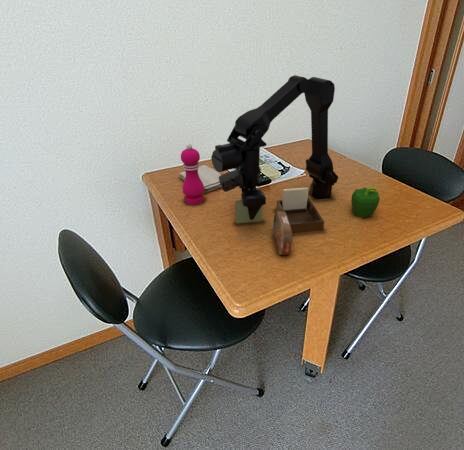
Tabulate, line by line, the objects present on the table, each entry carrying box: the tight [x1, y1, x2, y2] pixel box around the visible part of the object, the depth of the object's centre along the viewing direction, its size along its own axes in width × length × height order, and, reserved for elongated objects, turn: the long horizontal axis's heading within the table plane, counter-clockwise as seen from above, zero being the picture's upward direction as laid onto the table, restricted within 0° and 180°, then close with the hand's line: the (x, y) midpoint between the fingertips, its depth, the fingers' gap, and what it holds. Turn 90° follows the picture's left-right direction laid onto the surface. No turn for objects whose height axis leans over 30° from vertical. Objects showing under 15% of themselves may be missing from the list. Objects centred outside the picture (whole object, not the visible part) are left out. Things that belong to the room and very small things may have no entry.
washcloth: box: [178, 165, 222, 195], centre depth 127 cm, size 12×18×3 cm, turn 40°
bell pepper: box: [350, 186, 381, 219], centre depth 107 cm, size 8×8×10 cm
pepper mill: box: [180, 143, 205, 206], centre depth 111 cm, size 7×7×20 cm
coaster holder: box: [275, 197, 325, 235], centre depth 105 cm, size 14×11×4 cm
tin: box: [272, 210, 293, 256], centre depth 93 cm, size 15×3×8 cm, turn 5°
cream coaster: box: [281, 186, 310, 210], centre depth 108 cm, size 1×8×8 cm, turn 100°
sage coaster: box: [235, 199, 263, 224], centre depth 102 cm, size 1×8×8 cm, turn 100°
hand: (248, 211), depth 102 cm, fingers open, 9 cm apart
